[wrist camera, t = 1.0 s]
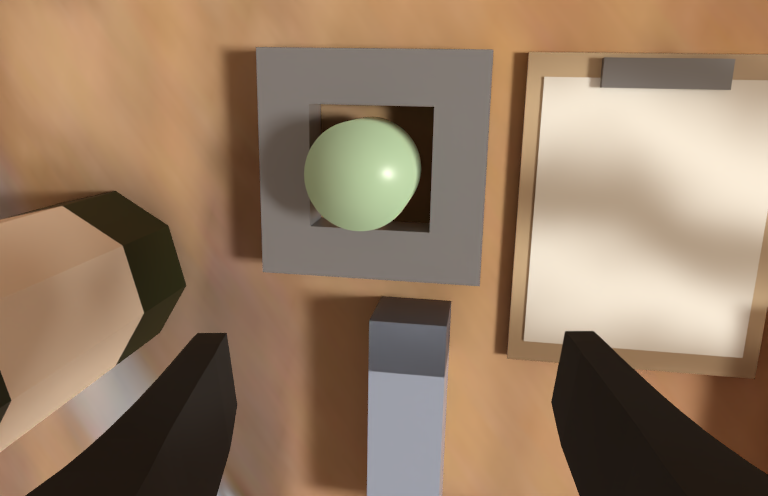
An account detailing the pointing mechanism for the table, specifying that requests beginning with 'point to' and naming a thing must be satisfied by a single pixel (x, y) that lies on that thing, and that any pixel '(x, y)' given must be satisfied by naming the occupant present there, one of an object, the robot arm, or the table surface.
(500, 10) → the table surface
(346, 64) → the button housing
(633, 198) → the tan flat tray
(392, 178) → the button
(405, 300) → the grey rectangular bar
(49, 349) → the wine bottle
